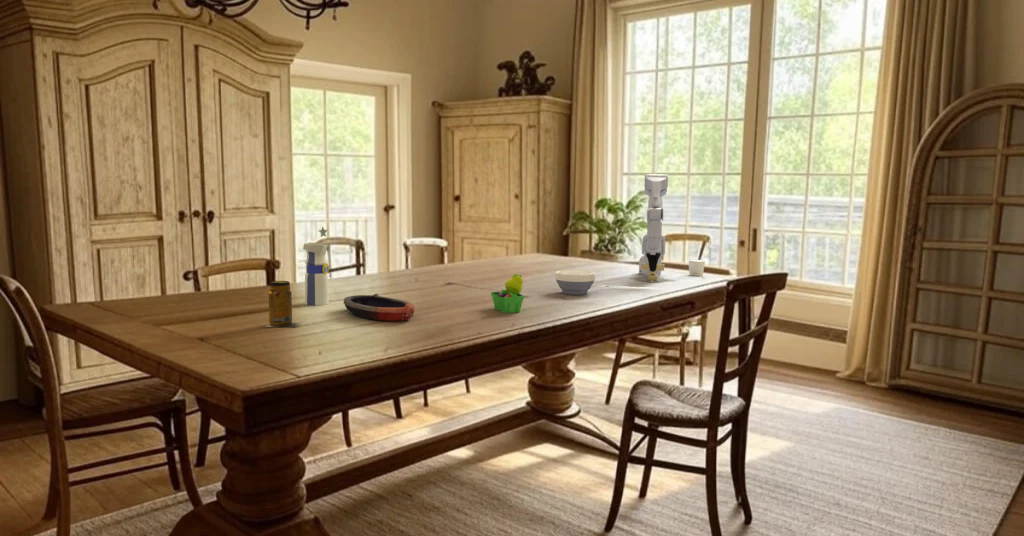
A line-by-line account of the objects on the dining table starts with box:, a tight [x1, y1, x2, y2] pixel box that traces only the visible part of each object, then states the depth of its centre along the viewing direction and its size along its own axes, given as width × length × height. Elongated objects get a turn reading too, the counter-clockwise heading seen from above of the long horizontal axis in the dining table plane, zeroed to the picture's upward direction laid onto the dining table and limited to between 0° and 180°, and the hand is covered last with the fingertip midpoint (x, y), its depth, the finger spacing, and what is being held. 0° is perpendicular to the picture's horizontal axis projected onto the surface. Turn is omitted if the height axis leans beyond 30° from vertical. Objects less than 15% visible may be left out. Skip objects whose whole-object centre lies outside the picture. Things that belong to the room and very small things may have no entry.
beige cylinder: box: [688, 259, 706, 277], centre depth 311 cm, size 7×7×7 cm
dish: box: [343, 293, 416, 322], centre depth 212 cm, size 16×31×5 cm, turn 42°
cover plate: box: [628, 276, 677, 284], centre depth 291 cm, size 14×14×1 cm
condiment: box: [265, 280, 303, 328], centre depth 196 cm, size 7×8×12 cm
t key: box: [641, 263, 665, 281], centre depth 291 cm, size 9×4×6 cm, turn 77°
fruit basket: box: [490, 273, 525, 314], centre depth 224 cm, size 11×9×11 cm
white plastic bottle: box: [302, 226, 330, 307], centre depth 229 cm, size 8×9×25 cm
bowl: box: [554, 269, 596, 296], centre depth 259 cm, size 14×14×8 cm
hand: (652, 270), depth 291 cm, fingers closed on t key, 2 cm apart
